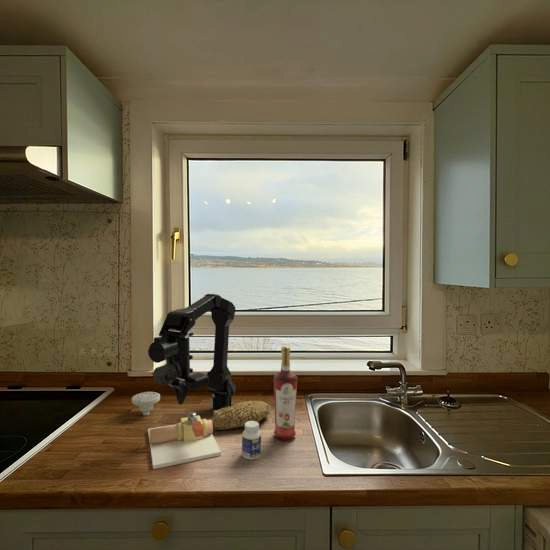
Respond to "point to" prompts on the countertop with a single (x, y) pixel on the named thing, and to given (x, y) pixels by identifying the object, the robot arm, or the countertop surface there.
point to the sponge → (240, 414)
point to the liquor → (285, 398)
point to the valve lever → (195, 424)
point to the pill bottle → (251, 440)
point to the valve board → (181, 443)
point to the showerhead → (146, 401)
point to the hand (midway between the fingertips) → (180, 403)
